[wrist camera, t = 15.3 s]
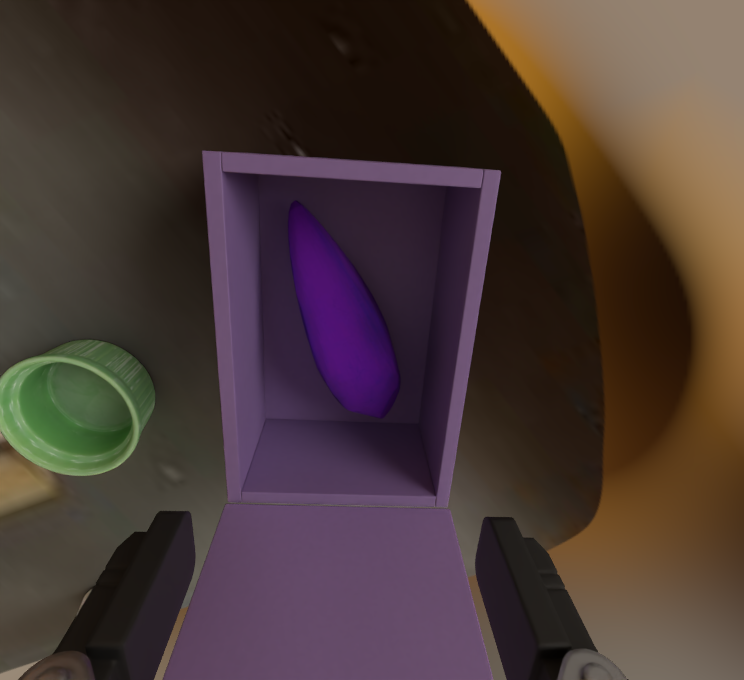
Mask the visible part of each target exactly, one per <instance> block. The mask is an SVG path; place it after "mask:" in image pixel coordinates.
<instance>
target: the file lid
mask: <svg viewBox="0 0 744 680" xmlns="http://www.w3.org/2000/svg"><path fill="white" fill-rule="evenodd" d="M163 680H493V676H492V672H491V668H490V664H489V661H488V657H487V653H486V649H485V645H484V641H483V637H482V633H481V629H480V625H479V621H478V618H477V613H476V610H475V606H474V602H473V599H472V594H471V590H470V586H469V582H468V578H467V574H466V570H465V566H464V562H463V559H462V555H461V551H460V547H459V543H458V539H457V535H456V531H455V527H454V523H453V519H452V515H451V511H450V509H430V508H387V507H344V506H301V505H258V504H225V506H224V509H223V512H222V515H221V518H220V520H219V523H218V526H217V529H216V532H215V534H214V537H213V540H212V543H211V546H210V548H209V551H208V554H207V557H206V560H205V562H204V565H203V568H202V571H201V574H200V576H199V579H198V582H197V585H196V588H195V590H194V593H193V596H192V599H191V601H190V604H189V607H188V610H187V613H186V615H185V618H184V621H183V624H182V627H181V629H180V632H179V635H178V638H177V641H176V643H175V646H174V649H173V652H172V655H171V657H170V660H169V663H168V666H167V669H166V671H165V674H164V677H163Z"/></svg>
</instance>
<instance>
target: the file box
mask: <svg viewBox="0 0 744 680" xmlns="http://www.w3.org/2000/svg"><path fill="white" fill-rule="evenodd" d="M202 159H203V172H204V186H205V199H206V213H207V226H208V240H209V253H210V267H211V280H212V294H213V307H214V321H215V334H216V348H217V361H218V375H219V388H220V402H221V415H222V429H223V442H224V456H225V469H226V483H227V496H228V502H236V503H241V502H243V503H286V504H328V505H371V506H414V507H434V506H435V507H448V501H449V495H450V489H451V482H452V476H453V470H454V464H455V457H456V451H457V445H458V439H459V432H460V426H461V420H462V413H463V407H464V401H465V395H466V388H467V382H468V376H469V370H470V363H471V357H472V351H473V344H474V338H475V332H476V326H477V319H478V313H479V307H480V301H481V294H482V288H483V282H484V275H485V269H486V263H487V257H488V250H489V244H490V238H491V232H492V225H493V219H494V213H495V206H496V200H497V194H498V188H499V181H500V175H501V171H500V170H488V169H477V168H465V167H452V166H437V165H422V164H407V163H392V162H377V161H362V160H347V159H332V158H317V157H302V156H287V155H272V154H257V153H240V152H220V151H202ZM295 200H297V201H298V202H299V203H301V204H302V205H303V206H304V207H305V208H306V209H307V210H308V211H309V212H310V213H311V214H312V215H313V216H314V217H315V218H316V219H317V220H318V222H319V223H320V224H321V225H322V226H323V227H324V228H325V229H326V231H327V232H328V233H329V234H330V235H331V237H332V238H333V239H334V240H335V242H336V243H337V244H338V246H339V247H340V248H341V250H342V251H343V252H344V253H345V255H346V256H347V257H348V259H349V260H350V261H351V263H352V264H353V265H354V267H355V268H356V270H357V271H358V273H359V274H360V276H361V277H362V279H363V280H364V282H365V284H366V285H367V287H368V288H369V290H370V292H371V293H372V295H373V297H374V299H375V301H376V303H377V305H378V307H379V309H380V311H381V313H382V315H383V318H384V320H385V322H386V324H387V327H388V330H389V334H390V338H391V341H392V345H393V348H394V352H395V356H396V359H397V363H398V368H399V371H400V377H401V384H400V390H399V393H398V395H397V398H396V400H395V402H394V404H393V406H392V408H391V409H390V411H389V412H388V413H387V415H386V416H385V417H384V418H382V419H380V418H375V417H371V416H368V415H363V414H360V413H355V412H351V411H349V410H347V409H345V408H344V407H343V406H342V405H341V404H340V403H339V402H338V401H337V400H336V399H335V397H334V396H333V394H332V393H331V391H330V390H329V388H328V387H327V385H326V383H325V382H324V380H323V379H322V377H321V375H320V373H319V371H318V369H317V367H316V364H315V361H314V358H313V355H312V352H311V349H310V345H309V342H308V339H307V336H306V333H305V329H304V325H303V321H302V317H301V313H300V309H299V305H298V300H297V296H296V291H295V285H294V280H293V274H292V268H291V260H290V252H289V242H288V215H289V209H290V206H291V203H292V202H293V201H295Z"/></svg>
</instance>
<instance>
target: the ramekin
mask: <svg viewBox="0 0 744 680" xmlns="http://www.w3.org/2000/svg"><path fill="white" fill-rule="evenodd" d="M154 406H155V390H154V385H153V382H152V380H151V378H150V376H149V374H148V372H147V370H146V369H145V368H144V366H143V365H142V364H141V363H140V362H139V361H138V360H137V359H136V358H135V357H134V356H132V355H131V354H129V353H128V352H127V351H125V350H123V349H122V348H120V347H118V346H116V345H113V344H111V343H108V342H103V341H99V340H91V339H90V340H76V341H71V342H68V343H65V344H63V345H61V346H58V347H56V348H54V349H52V350H50V351H48V352H46V353H44V354H42V355H38V356H34V357H31V358H28V359H25V360H23V361H20V362H18V363H17V364H15V365H13V366H12V367H10V368H9V369H8V370H7V371H6V372H5V373H4V374H3V375H2V376H1V378H0V431H1V433H2V434H3V436H4V437H5V439H6V440H7V441H8V442H9V444H10V445H11V446H12V447H13V448H14V449H15V450H16V451H17V452H19V453H20V454H21V455H22V456H24V457H25V458H26V459H28V460H29V461H31V462H33V463H34V464H36V465H38V466H40V467H42V468H45V469H47V470H50V471H53V472H57V473H61V474H66V475H74V476H75V475H76V476H88V475H96V474H100V473H104V472H107V471H109V470H112V469H114V468H116V467H117V466H119V465H120V464H122V463H123V462H124V461H125V460H126V459H127V458H128V457H129V456H130V455H131V454H132V452H133V451H134V449H135V447H136V445H137V443H138V441H139V438H140V434H141V432H142V430H143V429H144V427H145V425H146V423H147V422H148V420H149V418H150V416H151V414H152V412H153V409H154Z"/></svg>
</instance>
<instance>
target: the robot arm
mask: <svg viewBox="0 0 744 680" xmlns="http://www.w3.org/2000/svg"><path fill="white" fill-rule="evenodd" d="M194 567H195V545H194V536H193V527H192V518H191V514H190V512H189V511H159V512H158V513H157V514H156V516H155V518H154V520H153V522H152V523H151V525H150V527H149V529H148V531H147V532H134V533H133V534H132V535H131V536H130V537H128V538H127V539H126V540H125V541H124V542H123V543H122V544H121V545H120V546H118V547H117V549H116V550H115V552H114V554H113V555H112V557H111V559H110V560H109V562H108V564H107V565H106V569H105V570H103V572H102V574H101V575H100V577H99V579H98V580H97V582H96V586H94V587H93V589H92V590H91V592H90V594H89V595H88V597H87V599H86V600H85V602H84V604H83V605H82V607H81V609H80V610H79V612H78V614H77V616H76V617H75V619H74V621H73V622H72V624H71V626H70V627H69V629H68V631H67V632H66V634H65V636H64V637H63V639H62V641H61V642H60V644H59V646H58V647H57V649H56V650H55V652H54V653H53V654H52V655H50V656H48V657H46V658H44V659H42V660H41V661H39V662H37V663H36V664H35V665H33V666H32V667H31V668H30V669H28V670H27V671H26V672H25V673H24V674H23V675H22V676H21V677H20V678H19V679H18V680H154V678H155V675H156V672H157V670H158V667H159V664H160V662H161V659H162V656H163V654H164V651H165V648H166V646H167V643H168V640H169V638H170V635H171V632H172V630H173V627H174V624H175V621H176V619H177V616H178V614H179V611H180V608H181V606H182V603H183V600H184V598H185V595H186V592H187V590H188V587H189V584H190V582H191V579H192V576H193V572H194ZM475 569H476V577H477V581H478V585H479V588H480V592H481V595H482V598H483V602H484V605H485V608H486V612H487V615H488V618H489V622H490V625H491V628H492V631H493V635H494V638H495V642H496V645H497V648H498V652H499V655H500V658H501V662H502V665H503V668H504V672H505V675H506V678H507V680H628V679H627V678H626V677H625V675H624V674H623V673H622V671H621V670H620V669H619V668H618V667H617V666H616V665H615V664H614V663H613V662H612V661H611V660H609V659H608V658H606V657H605V656H603V655H602V654H600V653H598V651H597V649H596V647H595V646H594V644H593V642H592V640H591V638H590V636H589V634H588V632H587V630H586V628H585V626H584V624H583V622H582V620H581V618H580V616H579V614H578V612H577V610H576V608H575V606H574V604H573V602H572V600H571V598H570V596H569V594H568V592H567V590H565V586H564V584H563V582H562V580H561V578H560V576H559V575H558V574H557V570H556V568H555V566H554V564H553V562H552V560H551V558H550V556H549V554H548V553H547V552H546V551H545V549H544V548H543V547H542V546H541V545H540V544H539V543H538V542H537V541H536V540H535V539H534V538H523V537H522V535H521V533H520V530H519V528H518V526H517V524H516V522H515V520H514V519H513V518H512V517H485V518H484V520H483V523H482V528H481V533H480V538H479V543H478V548H477V553H476V559H475Z"/></svg>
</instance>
